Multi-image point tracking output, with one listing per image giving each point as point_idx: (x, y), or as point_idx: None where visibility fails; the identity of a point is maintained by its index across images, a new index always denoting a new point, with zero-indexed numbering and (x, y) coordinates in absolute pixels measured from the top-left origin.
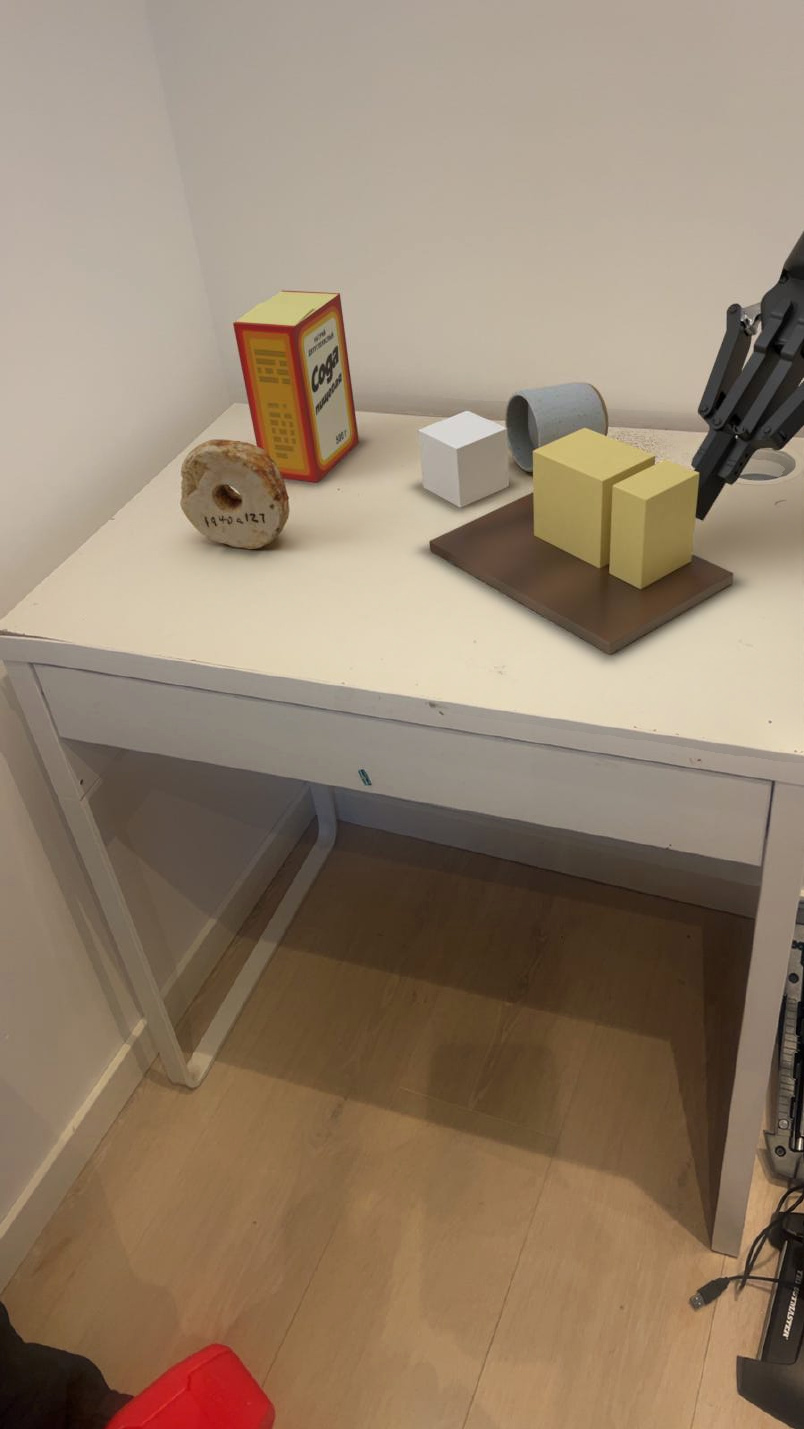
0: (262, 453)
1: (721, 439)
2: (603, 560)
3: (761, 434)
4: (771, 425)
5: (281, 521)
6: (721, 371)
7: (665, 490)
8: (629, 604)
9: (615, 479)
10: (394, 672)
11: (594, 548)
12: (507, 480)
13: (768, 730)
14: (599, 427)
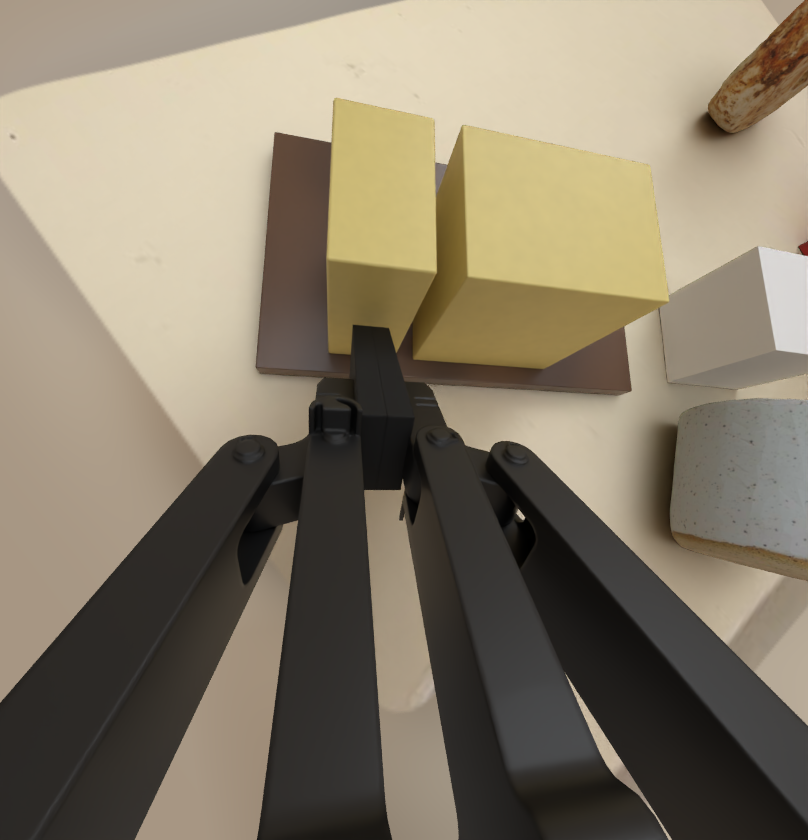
0: None
1: (385, 403)
2: None
3: (266, 440)
4: (239, 465)
5: (728, 81)
6: (613, 579)
7: (332, 152)
8: (319, 215)
9: (458, 167)
10: (432, 20)
11: None
12: (677, 376)
13: (3, 122)
14: (709, 522)
